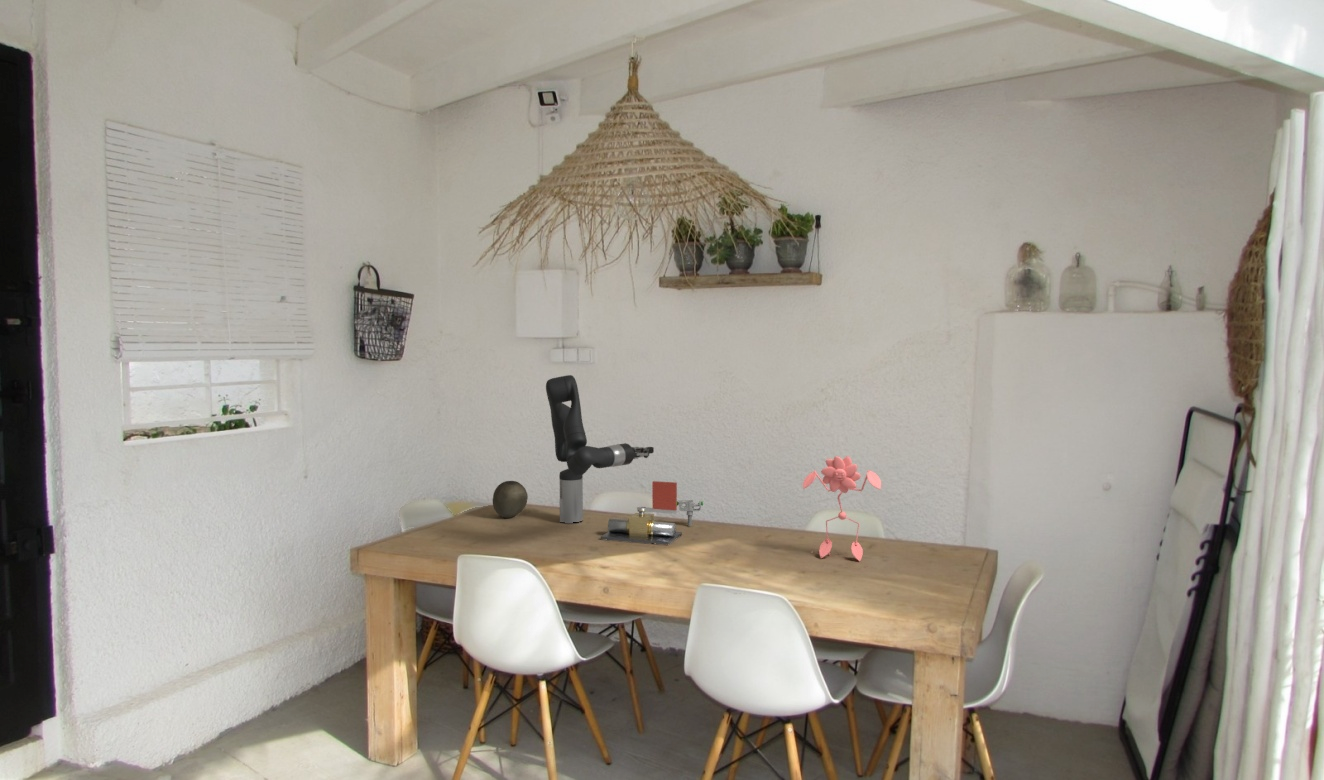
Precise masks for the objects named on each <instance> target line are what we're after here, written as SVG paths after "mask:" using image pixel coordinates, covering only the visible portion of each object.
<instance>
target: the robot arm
mask: <svg viewBox="0 0 1324 780" xmlns="http://www.w3.org/2000/svg"><path fill="white" fill-rule="evenodd" d="M578 387H579V386H578V384H577V380H576V379H575V377H574V376H573V375H571V374H566V375H562V376H558V377H557V376H556V377H553V378H552V377H551V378H550V379H548V380H547V381H546V384H545V391H546V396H547V401H548V403H549V404H548V405H549V407H550V417H551V418H550V419H551V425H552V430H553V435H554V448H555V449H554V450H555V457H556V460H557V461H559V462H561V463H566V466H567V468H566V469H564V470H561V471H560V472H559V479H558V480H559V523H560V522H565V523H564V524H574V523H573V522H579V521H582V520H583V521H584V503H583V502H584V501H583V497H584V494H583V493H584V492H583V488H584V487H583V484H584V482H583V479H584V478H583V475H585V474H586V473H587V472H588V470H590V468H591V467H592V466H593V467H594V468H596V469H604V468H605V469H606V468H611V467H613V468H615V467H619V466H621V467H622V466H626V465H630V464H632V462H633V460H638V459H639V458H644V459H647V458H649V456H650V454H653V453H654V449H655V448H654V447H653V446H647V447H643V446H642V447H641V446H640V447H639V446H631V445H630V444H629V443H626V442H623V443H620V444H619V443H618V444H611V445H608V446H603V447H596V446H589V445H587V443H588V440H587V435H586V432H585V427H584V423H583V417H582V407H581V400H580V394H579V388H578ZM567 402H571V404H570V406H568V405H566V403H567ZM583 521H582V522H583ZM579 523H580V522H579Z"/></svg>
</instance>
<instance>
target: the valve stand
mask: <svg viewBox="0 0 1324 780" xmlns="http://www.w3.org/2000/svg"><path fill="white" fill-rule="evenodd" d="M654 516H655V514H654V513H645V512H635V513H633V514H632V515H630V516H629V518H627V519H623V518H613V517H612V518H609V519H608V522H607V529H608V530H607V532H605V533H604V534H602V535H600V540H601V539H607V540H606V541H610V540H619V541H618V542H622V541H631V542H630V543H634V542H644V543H643V544H646V543H656V544H655V545H658V544H667V545H666V546H669V545H671V544H672V543H673V542H675V541H676V540H677V539H679V538H680V537H681V536H680V535H683V532H682V531H677V525H676V523H675V522H665V521H657V520H656V519H655V517H654ZM679 536H680V537H679ZM678 537H679V538H678ZM676 538H677V539H676ZM675 539H676V540H675ZM674 540H675V541H674ZM672 541H673V542H672ZM671 542H672V543H671ZM670 543H671V544H670ZM668 544H669V545H668Z"/></svg>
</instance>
